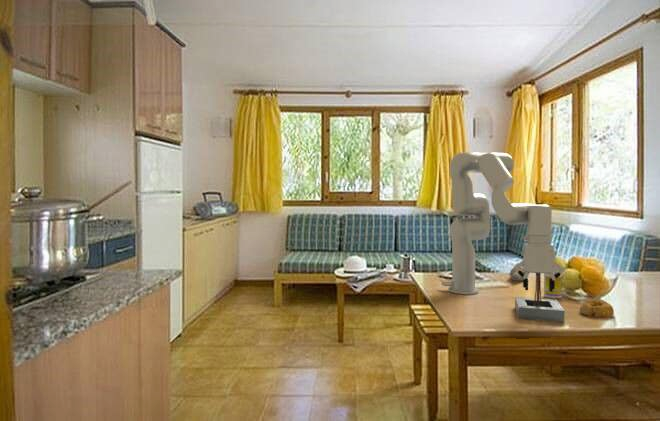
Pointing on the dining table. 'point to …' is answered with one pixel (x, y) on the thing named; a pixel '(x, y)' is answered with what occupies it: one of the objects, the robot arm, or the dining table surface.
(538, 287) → the wooden tabletop sculpture
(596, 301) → the bagel
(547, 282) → the supplement bottle
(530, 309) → the tray
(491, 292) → the dining table surface
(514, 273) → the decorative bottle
